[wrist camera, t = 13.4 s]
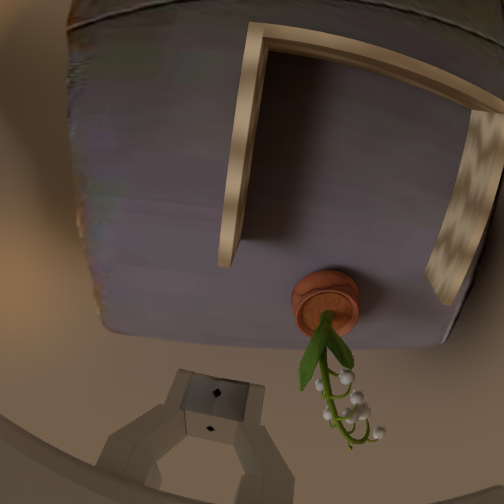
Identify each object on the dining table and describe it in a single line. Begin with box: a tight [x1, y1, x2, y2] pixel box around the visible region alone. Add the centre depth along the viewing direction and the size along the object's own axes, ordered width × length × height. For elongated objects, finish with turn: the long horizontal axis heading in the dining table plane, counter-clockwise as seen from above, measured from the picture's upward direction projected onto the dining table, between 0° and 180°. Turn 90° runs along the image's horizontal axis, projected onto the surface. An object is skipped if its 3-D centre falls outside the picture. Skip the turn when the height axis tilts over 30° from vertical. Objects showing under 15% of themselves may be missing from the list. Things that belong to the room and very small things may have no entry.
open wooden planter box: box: [217, 22, 504, 306], centre depth 33 cm, size 27×31×8 cm
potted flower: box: [291, 270, 386, 450], centre depth 34 cm, size 12×10×25 cm
